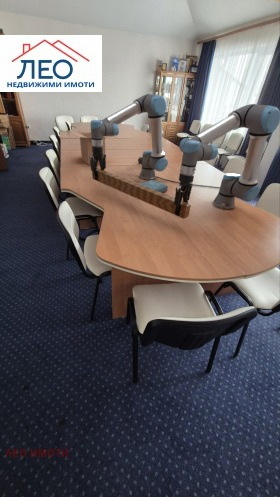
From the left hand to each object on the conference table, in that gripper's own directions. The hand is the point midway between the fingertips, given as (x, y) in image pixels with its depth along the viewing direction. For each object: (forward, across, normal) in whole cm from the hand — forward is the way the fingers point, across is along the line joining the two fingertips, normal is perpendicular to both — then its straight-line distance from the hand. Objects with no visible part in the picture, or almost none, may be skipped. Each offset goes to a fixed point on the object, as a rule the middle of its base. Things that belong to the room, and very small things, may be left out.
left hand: (99, 179), depth 166 cm
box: (+10, +48, +69) cm, 85 cm away
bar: (+1, 0, -36) cm, 36 cm away
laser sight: (+10, +89, +27) cm, 93 cm away
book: (+10, +32, -25) cm, 42 cm away
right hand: (0, 0, -73) cm, 73 cm away
